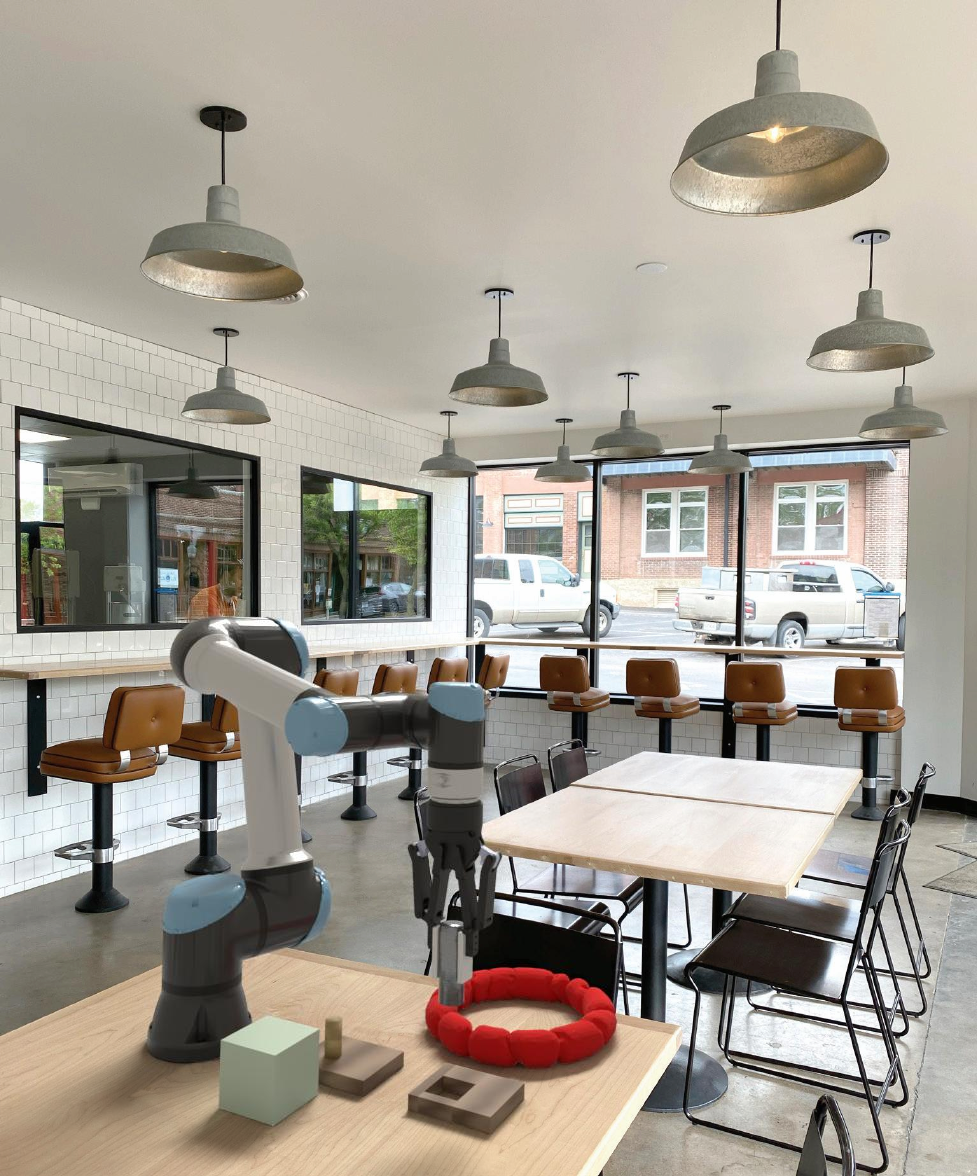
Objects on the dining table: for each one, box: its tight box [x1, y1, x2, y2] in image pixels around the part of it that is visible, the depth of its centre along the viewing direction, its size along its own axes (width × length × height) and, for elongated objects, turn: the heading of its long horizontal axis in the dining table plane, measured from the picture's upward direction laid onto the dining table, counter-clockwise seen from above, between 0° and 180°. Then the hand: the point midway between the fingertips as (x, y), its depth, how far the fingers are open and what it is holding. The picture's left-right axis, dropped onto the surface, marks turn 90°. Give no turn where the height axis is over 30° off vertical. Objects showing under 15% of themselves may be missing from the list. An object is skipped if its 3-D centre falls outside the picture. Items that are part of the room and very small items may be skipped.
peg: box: [438, 919, 464, 1007], centre depth 122 cm, size 3×3×10 cm
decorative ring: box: [424, 967, 618, 1069], centre depth 146 cm, size 7×30×30 cm
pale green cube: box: [218, 1014, 321, 1127], centre depth 122 cm, size 9×9×9 cm
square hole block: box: [407, 1062, 526, 1134], centre depth 122 cm, size 12×10×2 cm
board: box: [318, 1015, 405, 1097], centre depth 130 cm, size 12×10×7 cm
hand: (452, 977), depth 122 cm, fingers closed on peg, 3 cm apart
